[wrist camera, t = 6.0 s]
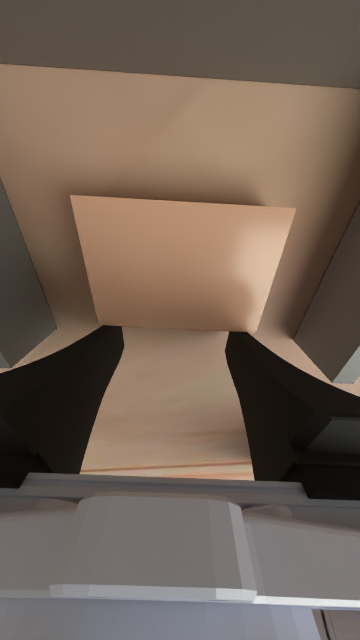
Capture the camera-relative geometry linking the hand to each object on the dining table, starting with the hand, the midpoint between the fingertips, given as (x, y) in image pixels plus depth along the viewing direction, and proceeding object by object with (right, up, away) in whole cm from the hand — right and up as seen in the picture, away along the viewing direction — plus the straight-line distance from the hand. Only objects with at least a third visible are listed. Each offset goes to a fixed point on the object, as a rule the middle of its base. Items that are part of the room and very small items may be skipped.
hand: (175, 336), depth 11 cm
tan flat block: (0, +5, 0) cm, 5 cm away
